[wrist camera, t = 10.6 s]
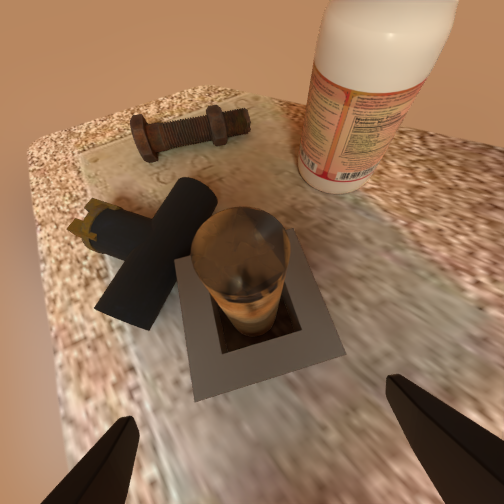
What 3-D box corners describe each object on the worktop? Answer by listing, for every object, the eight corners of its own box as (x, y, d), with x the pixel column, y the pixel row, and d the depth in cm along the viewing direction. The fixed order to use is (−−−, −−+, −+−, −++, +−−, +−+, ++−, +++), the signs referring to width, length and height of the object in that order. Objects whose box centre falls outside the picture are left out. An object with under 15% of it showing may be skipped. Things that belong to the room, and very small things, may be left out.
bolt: (250, 147, 36) (150, 167, 34) (242, 113, 36) (141, 132, 34) (255, 128, 30) (135, 151, 29) (246, 88, 30) (124, 109, 28)
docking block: (332, 356, 21) (346, 354, 17) (206, 396, 20) (194, 402, 17) (289, 247, 26) (293, 227, 22) (187, 275, 25) (174, 259, 21)
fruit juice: (282, 176, 30) (371, -722, 5) (318, 133, 34) (479, -556, 9) (351, 209, 28) (1178, -1292, 3) (382, 160, 31) (898, -741, 6)
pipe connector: (18, 276, 20) (119, 156, 26) (64, 293, 25) (140, 188, 31) (132, 325, 18) (213, 183, 24) (158, 333, 23) (220, 213, 29)
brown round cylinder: (285, 312, 23) (311, 245, 10) (253, 347, 22) (239, 319, 9) (252, 282, 24) (240, 191, 12) (221, 313, 23) (170, 249, 11)
